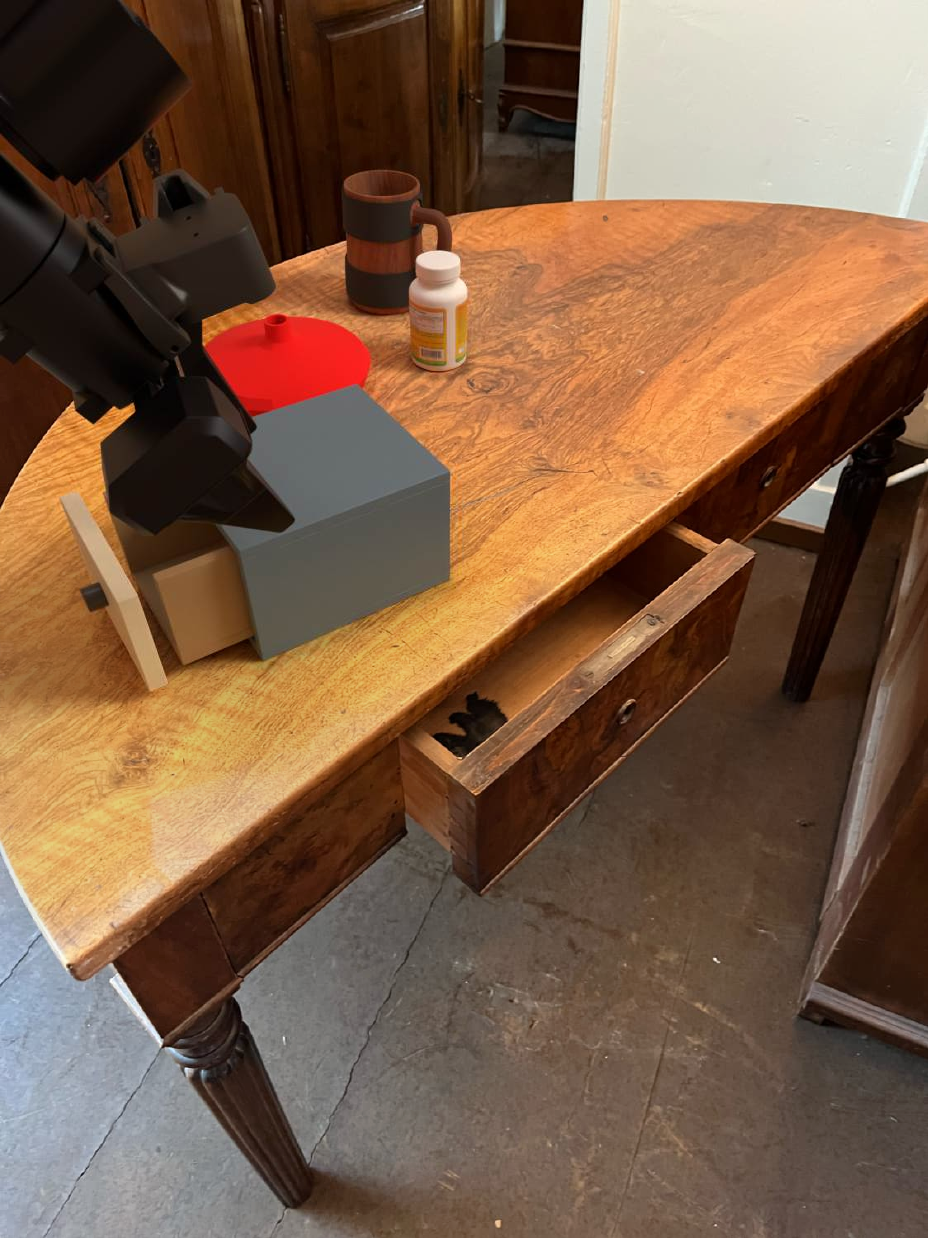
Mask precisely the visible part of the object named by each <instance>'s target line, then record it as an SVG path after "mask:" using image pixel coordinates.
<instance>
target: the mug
mask: <svg viewBox="0 0 928 1238" xmlns="http://www.w3.org/2000/svg"><path fill="white" fill-rule="evenodd" d="M341 201H342V202H341V204H342V205H341V206H342V228H343V231H344V232H345V241H346V242H345V243H346V253H345V254H344V281H345V282H344V283H345V292H346V295H347V297H348V299H350V301H351V302H352V304H353V305H354V306H355V307H356V308H358V309H359V310H361V311H363V312H366V313H371V314H376V315H397V314H402V313H407V312H410V309H409V287H410V285H411V283H412V282H413V281H414V280H415V279H416V278H417V276H416V258H417V257H418V256H419V255H421V254H422V253H425V251H424V242H423V229H424V227H425V225H429V226H430V225H431V226H434V227H435V228H436V233H437V238H436V239H437V240H436V249H435V251H447V252H451V253H452V248H453V231H452V227H451V223H450V221H449V219H448V217H447V216H446V215H445V214H444V213H443V212H441V211H439V210H437V209H434V208H427V207H424V203H423V186H422V185H421V184H420V181H419V179H418V178H417V177H415V176H413V175H412V174H409V173H406V172H402V171H397V170H392V169H391V170H390V169H374V170H366V171H360V172H357V173H354V174H352V175H349V176H347V178H346V179H345V180H344V181H343V184H342V185H341Z"/></svg>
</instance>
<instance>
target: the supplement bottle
mask: <svg viewBox="0 0 928 1238" xmlns="http://www.w3.org/2000/svg"><path fill="white" fill-rule="evenodd" d="M416 276H417V278H416V279H415V280H414V281H413V282H412V283H411V285H410V287H409V309H410V310H409V330H410V331H409V333H410V355H411V360H412V362H413V363H414V364H415V365H416V366H418V367H419V368H421V369H424V370H427V371H434V372H446V371H451V370H453V369H457V368H458V367H460V366H461V365H463V364H464V363H465V362H466V359H467V355H468V354H467V351H468V287H467V285H466V283H465V281H464V280H462V279H461V278H460V276H461V258H460V257H459V255H458V254H456V253H455V252H454V253H453V252H452V251H451V252H447V251H436V250H430V251H429V250H428V251H424V253H422V254H421V255H419V256H418V257H417V258H416Z"/></svg>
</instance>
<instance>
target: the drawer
mask: <svg viewBox="0 0 928 1238" xmlns="http://www.w3.org/2000/svg"><path fill="white" fill-rule="evenodd" d="M102 495H103V498H104V502H105V504H106V507H107V510H108V513H109V516H110V519H111V521H112V524H113V527H114V530H115V533H116V536H117V539H118V542H119V545H120V548H121V550H122V553H123V556H124V559H125V563H126V566H127V568H128V571H129V574H130V576H131V578H132V580H133V582H134V583H135V585H136V587H137V588H138V590H139V592H140V593H141V595H142V597H143V599H144V600H145V602H146V604H147V606H148V608H149V609H150V611H151V612H152V614H153V616H154V617H155V619H156V621H157V623H158V624H159V626H160V628H161V630H162V631H163V633H164V635H165V637H166V638H167V640H168V641H169V644H170V645H171V647H172V649H173V650H174V653H176V655H177V658H178V659H179V660H180V662H181V664H182V665H183V666H186V665H188V664H190V663H193V662H195V661H198V660H199V659H203V658H204V657H207V656H209V655H211V654H212V655H213V653H216V652H219V651H221V650H223V649H224V650H225V649H226V648H228V647H230V646H234V645H235V644H237V643H240V642H243V641H244V640H248V638H250V637H252V636H254V632H253V627H252V623H251V618H250V614H249V609H248V605H247V600H246V596H245V591H244V587H243V583H242V578H241V574H240V569H239V565H238V560H237V556H236V553H235V551H234V550H233V549H232V547H231V546H230V544H229V543H228V542H227V540H226V539H225V538H224V536H223V535H222V533H221V532H220V531H219V529H218V528H217V526H216V525H215V524H211V523H197V522H178V521H175V522H174V523H173V524H171V525H170V526H169V527H167V528H164V529H163V530H162V531H160V532H159V533H158V534H157V535H156V536H143V535H142V534H140V533H139V532H137V531H136V530H134V529H133V528H131V527H130V526H129V525H127V524H126V523H124V522H123V521H121V520H120V519H118V518H117V517H115V516H114V515H112V514H111V513H110V511H109V505H108V499H107V494H106V490H105V491H103V492H102ZM58 499H59V502H60V504H61V507H62V509H63V512H64V514H65V517H66V520H67V522H68V525H69V527H70V530H71V533H72V535H73V538H74V541H75V543H76V545H77V548H78V551H79V552H80V555H81V558H82V560H83V563H84V566H85V568H86V571H87V573H88V576H89V578H90V581H91V584H88V585H85V586H84V587H81V588H79V592H80V595H81V597H82V600H83V602H84V604H85V606H86V608H87V610H88V612H89V613H93V612H96V611H99V610H102V609H105V610H106V613H107V614H108V616H109V618H110V620H111V622H112V624H113V626H114V628H115V629H116V631H117V633H118V635H119V637H120V639H121V640H122V643H123V644H124V646H125V648H126V651H127V652H128V654H129V656H130V657H131V659H132V662H133V663H134V665H135V666H136V669H137V671H138V672H139V674H140V677H141V678H142V680H143V682H144V684H145V686H146V688H147V690H148V691H149V692H151V693H152V692H153V691H156V690H158V689H160V688H163V687H165V686H167V685H168V684H169V682H168V679H167V676H166V673H165V670H164V667H163V663H162V661H161V659H160V656H159V653H158V650H157V646H156V644H155V641H154V638H153V635H152V633H151V630H150V627H149V623H148V621H147V618H146V614H145V611H144V609H143V606H142V603H141V600H140V597H139V595H138V593H137V591H136V590H135V587H134V586H133V584H132V583H131V581H130V579H129V578H128V576H127V574H126V573H125V571H124V569H123V567H122V565H121V564H120V562H119V560H118V558H117V556H116V554H115V553H114V552H113V549H112V548H111V546H110V544H109V542H108V541H107V539H106V537H105V535H104V534H103V532H102V531H101V529H100V527H99V525H98V524H97V522H96V521H95V519H94V517H93V515H92V513H91V512H90V509H89V508H88V506H87V504H86V503H85V501H84V499H83V498H82V496H81V494H80V493H79V491H78V490H76V491H73V492H71V493H67V494H64V495H61V496H59V497H58Z"/></svg>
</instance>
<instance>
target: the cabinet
mask: <svg viewBox="0 0 928 1238" xmlns="http://www.w3.org/2000/svg"><path fill="white" fill-rule="evenodd" d="M252 418H253V420H254V421H255V423H256V425H257V429H256V430H255V431H254V432H253V433H252V434H251V437H252V451H251V454H250V455H249V457H248V460H249V461H250V462H251V463H252V464H253V466H254V467H255V468H256V469H257V471H258V472H259V473H260V474H261V475H262V477H263V478H264V479H265V480H266V481H267V483H268V484H269V485H270V486H271V488H272V489H273V490H274V491H275V492H276V494H277V495H278V496H279V497H280V498H281V500H282V501H283V502H284V504H285V505H286V506H287V507H288V509H289V510H290V511H291V513H292V514H293V515H294V518H295V522H294V524H292V525H291V526H290V527H289V528H288V529H286V530H285V531H284V532H282V533H275V532H268V531H261V530H254V529H247V528H241V527H234V526H227V525H219V524H215V525H216V526H217V528H218V529H219V531H220V532H221V533H222V535H223V536H224V538H225V539H226V540H227V542H228V543H229V544H230V546H231V547H232V549H233V550H234V551H235V553H236V556H237V560H238V565H239V569H240V574H241V578H242V583H243V587H244V591H245V596H246V600H247V605H248V609H249V614H250V618H251V623H252V627H253V632H254V636H252V637H250V638H247V640H248V641H249V642H250V643H251V645H252V646H253V648H254V650H255V651H256V652H257V655H259V657H260V659H261V660H262V661H263V662H265V661H267V660H269V659H271V658H274V657H276V656H279V655H281V654H284V653H286V652H288V651H290V650H292V649H295V648H296V647H300V646H301V645H304V644H307V643H308V642H311V641H313V640H316V639H317V638H319V637H322V636H324V635H326V634H329V633H331V632H334V631H336V630H338V629H341V628H343V627H345V626H347V625H349V624H352V623H354V622H357V621H359V620H361V619H363V618H365V617H367V616H370V615H373V614H375V613H377V612H380V611H382V610H384V609H387V608H389V607H391V606H393V605H396V604H398V603H399V602H402V601H404V600H407V599H409V598H411V597H414V596H416V595H418V594H421V593H424V592H425V591H427V590H429V589H432V588H434V587H436V586H438V585H442V584H443V583H446V582H449V581H450V580H451V572H450V571H451V470H450V469H449V468H448V467H447V466H445V465H444V463H442V462H441V460H439V459H438V458H437V457H436V456H435V455H434V454H433V453H432V452H431V451H429V449H427V448H426V447H425V446H424V445H423V444H422V443H421V442H420V441H419V440H418V439H417V438H416V437H415V436H413V435H412V434H411V432H409V431H408V430H407V429H406V428H405V427H404V426H402V425H401V423H400V422H399V421H398V420H396V419H395V418H394V417H393V416H392V415H391V414H390V413H388V411H386V410H385V409H384V408H383V407H382V406H381V404H379V403H378V402H377V401H376V400H375V399H374V398H373V397H371V396H370V395H369V394H368V393H367V392H366V391H365V390H364V389H363V387H362V388H360V387H359V386H358V385H357V384H355V385H352V386H348V387H345V388H342V389H339V390H336V391H333V392H330V393H326V394H323V395H320V396H317V397H314V398H311V399H307V400H304V401H301V402H298V403H295V404H292V405H289V406H285V407H282V408H279V409H276V410H273V411H270V412H267V413H263V414H260V415H257V416H254V417H252Z"/></svg>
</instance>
